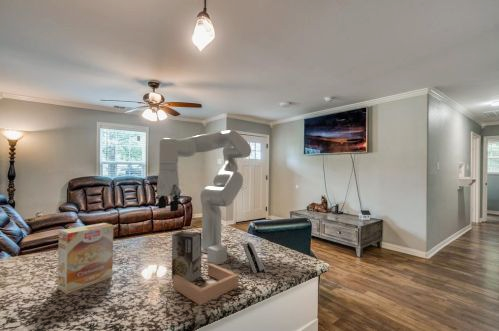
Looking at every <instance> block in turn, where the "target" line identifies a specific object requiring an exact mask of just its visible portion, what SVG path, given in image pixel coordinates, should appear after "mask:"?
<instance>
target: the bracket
mask: <svg viewBox="0 0 499 331" xmlns="http://www.w3.org/2000/svg"><path fill="white" fill-rule="evenodd" d="M207 276H210V277H212V278H214V279H216V280H218V281H215V282H213V283H210V284H208V285H205V286H203V287H200V286H199V285H196V284H195V283H193V282H191V281H188V280H186V279H184V278H182V277H180V276H179V275H176V276H174V279H173V285H172V286H173V289H174V290H175V291H177V292H178V293H180V294H182V295H183V296H185V297H186V298H188V299H190V300H191V301H192V302H195V303H196V304H197V305H198V306H201V305H203V304H205V303H208V302H209V301H212V300H214V299H217V298H218V297H220V296H222V295H225V294H226V293H228V292H231V291H233V290H235V289H237V288H239V276H240V275H239V274H237V273H235V272H233V271H231V270H228V269H226V268H223V267H221V266H218V264H217V265H216V264H213V263H211V262H209V263H208V264H207Z"/></svg>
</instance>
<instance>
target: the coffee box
mask: <svg viewBox="0 0 499 331" xmlns="http://www.w3.org/2000/svg"><path fill="white" fill-rule="evenodd" d="M201 238H202V232H197V231H187V230H186V231H185V230H181V231H177V232H176V233H175V234H171V279H173V280H174V276H176V275H179V276H180V277H182V278H184V279H186V280H188V281H189V282H191V283H193V282H194V281H195V280H197V279H198V278H199V277H201V276H202V252H201Z"/></svg>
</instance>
